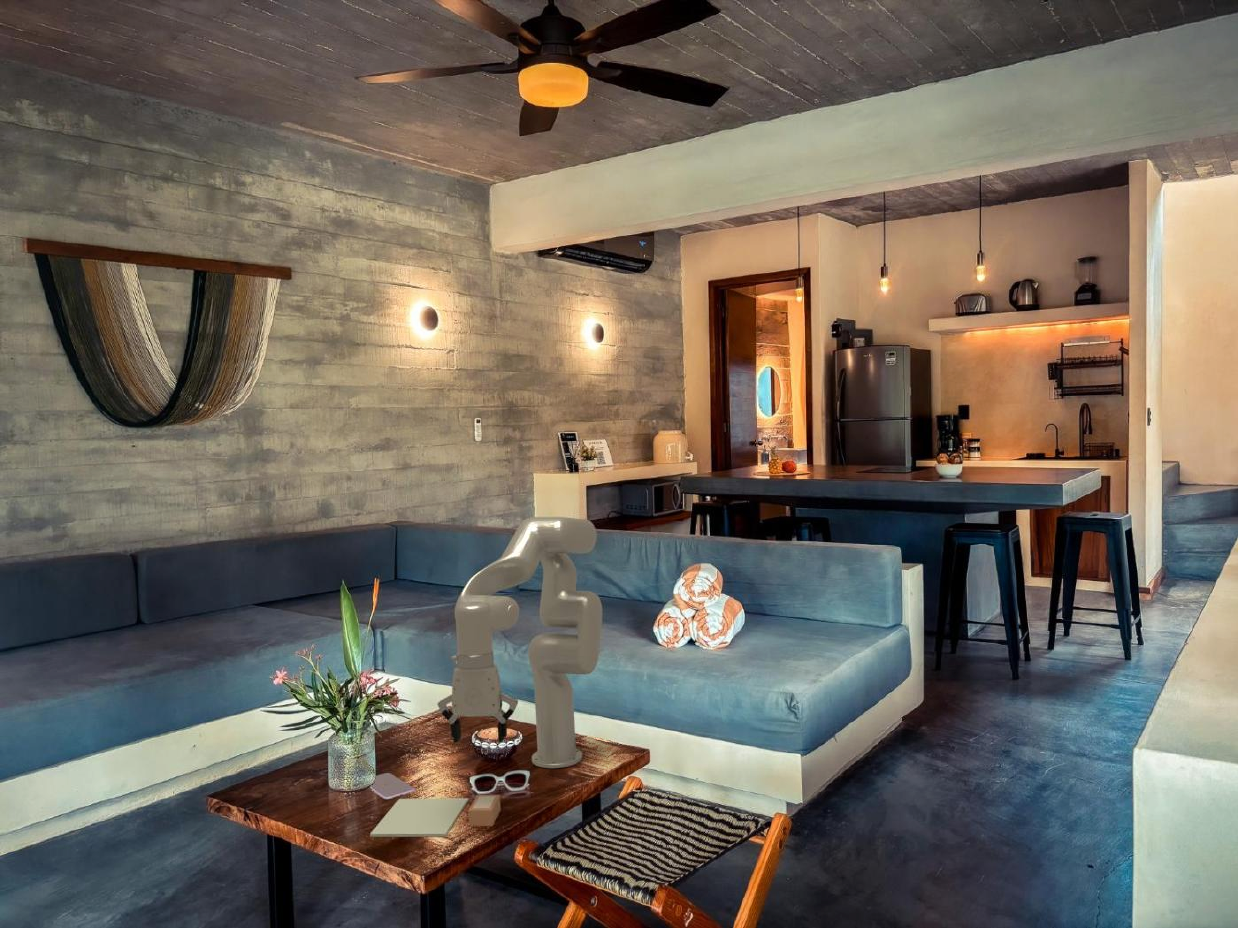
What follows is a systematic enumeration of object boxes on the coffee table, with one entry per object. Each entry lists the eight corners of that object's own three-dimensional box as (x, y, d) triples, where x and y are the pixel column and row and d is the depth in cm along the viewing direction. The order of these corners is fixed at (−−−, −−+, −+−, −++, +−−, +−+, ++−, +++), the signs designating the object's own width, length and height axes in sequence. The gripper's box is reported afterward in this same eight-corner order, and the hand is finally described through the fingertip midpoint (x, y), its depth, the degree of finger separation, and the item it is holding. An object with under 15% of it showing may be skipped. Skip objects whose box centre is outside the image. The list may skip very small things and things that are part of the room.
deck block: (478, 811, 202) (477, 794, 202) (500, 811, 202) (499, 794, 201) (469, 827, 194) (468, 809, 194) (492, 827, 194) (491, 809, 193)
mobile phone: (385, 797, 210) (359, 779, 222) (385, 801, 210) (359, 783, 222) (416, 787, 215) (389, 770, 227) (416, 792, 215) (389, 774, 227)
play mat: (399, 801, 209) (399, 798, 209) (468, 800, 207) (468, 798, 207) (370, 836, 191) (370, 833, 191) (445, 836, 189) (445, 833, 189)
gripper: (430, 665, 194) (434, 746, 194) (511, 664, 192) (515, 745, 192) (441, 657, 201) (445, 734, 202) (519, 655, 199) (523, 734, 200)
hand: (479, 740), depth 197 cm, fingers open, 9 cm apart
